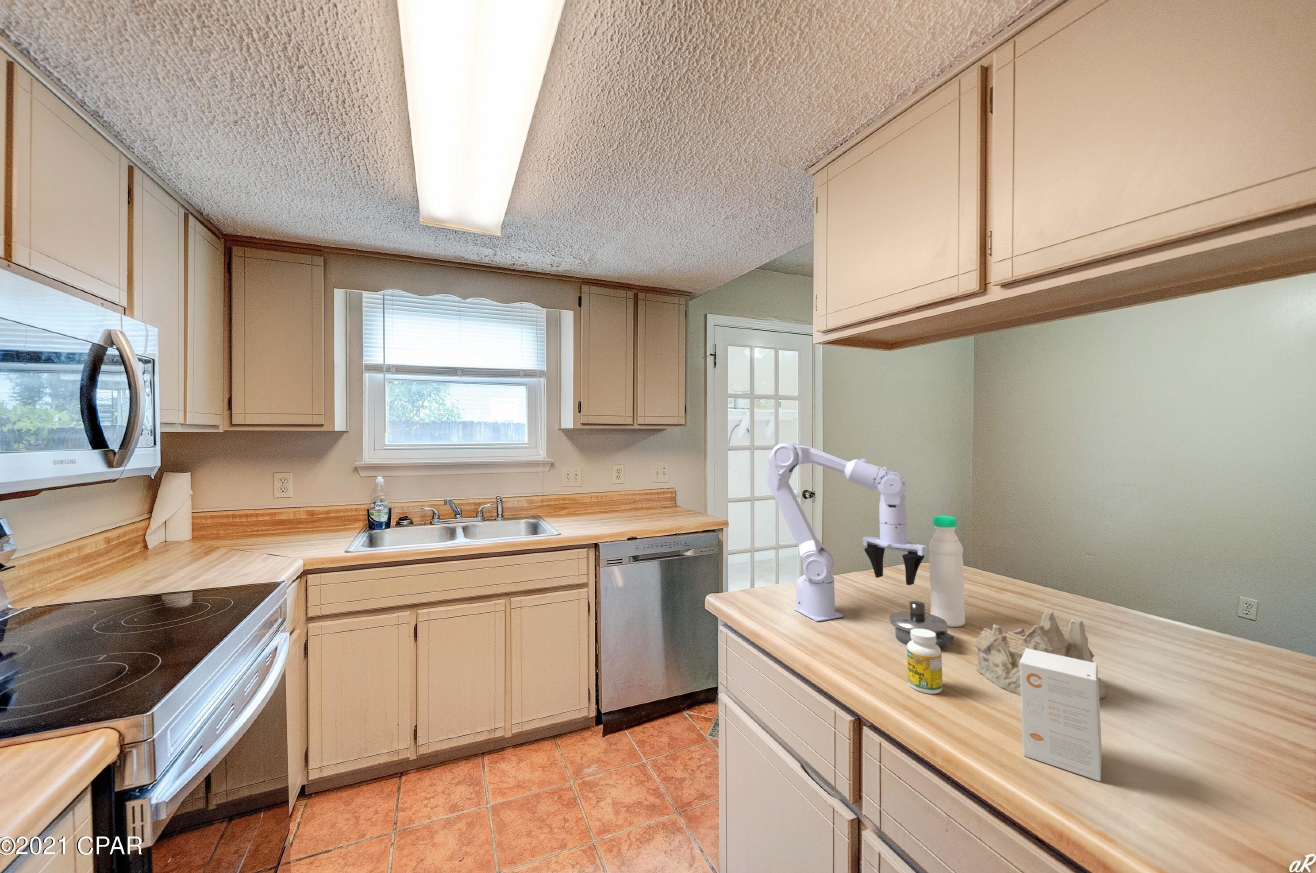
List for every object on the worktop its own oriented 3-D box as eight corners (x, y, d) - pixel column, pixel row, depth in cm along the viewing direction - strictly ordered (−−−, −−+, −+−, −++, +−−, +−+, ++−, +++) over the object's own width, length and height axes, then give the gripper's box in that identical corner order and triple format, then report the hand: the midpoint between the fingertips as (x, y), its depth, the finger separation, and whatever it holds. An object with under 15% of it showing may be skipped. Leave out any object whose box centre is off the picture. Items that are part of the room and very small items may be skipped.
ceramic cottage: (1125, 698, 80) (1113, 606, 81) (1041, 714, 77) (1030, 618, 78) (1037, 662, 96) (1028, 585, 97) (964, 674, 93) (955, 595, 94)
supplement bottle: (950, 691, 84) (948, 636, 84) (925, 697, 82) (923, 640, 83) (924, 677, 89) (922, 625, 89) (901, 682, 88) (899, 629, 88)
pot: (877, 631, 110) (877, 616, 110) (911, 624, 114) (910, 609, 114) (932, 657, 97) (932, 640, 97) (968, 649, 100) (968, 632, 100)
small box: (1102, 758, 66) (1099, 662, 66) (1101, 783, 61) (1098, 680, 61) (1027, 735, 72) (1024, 646, 72) (1021, 756, 67) (1018, 661, 67)
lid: (878, 618, 109) (877, 598, 109) (918, 612, 112) (917, 592, 112) (917, 637, 98) (916, 614, 98) (960, 630, 101) (959, 608, 101)
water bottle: (972, 627, 111) (968, 518, 111) (941, 628, 111) (937, 519, 112) (954, 616, 118) (950, 514, 119) (924, 617, 118) (921, 514, 119)
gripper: (855, 520, 118) (856, 576, 118) (914, 529, 106) (916, 591, 106) (871, 517, 122) (873, 571, 122) (930, 525, 110) (932, 585, 110)
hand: (894, 580), depth 114 cm, fingers open, 7 cm apart
